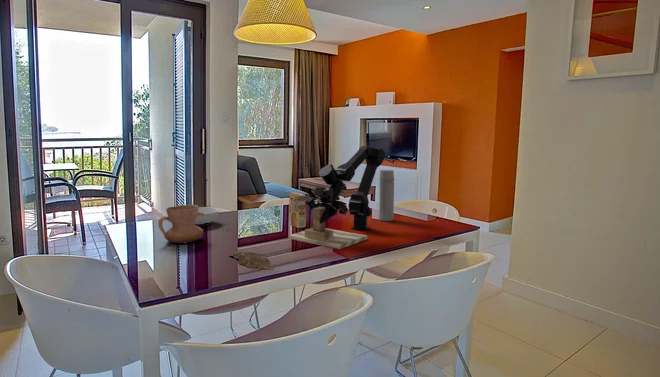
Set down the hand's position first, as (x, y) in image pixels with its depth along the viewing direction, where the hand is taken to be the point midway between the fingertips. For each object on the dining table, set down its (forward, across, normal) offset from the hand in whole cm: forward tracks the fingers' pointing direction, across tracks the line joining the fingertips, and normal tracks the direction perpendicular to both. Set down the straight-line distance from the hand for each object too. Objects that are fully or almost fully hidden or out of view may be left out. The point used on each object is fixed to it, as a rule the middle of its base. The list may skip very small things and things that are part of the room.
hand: (316, 222), depth 171 cm
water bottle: (-31, 0, +43) cm, 53 cm away
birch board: (+1, +1, +10) cm, 10 cm away
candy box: (-6, -25, +17) cm, 31 cm away
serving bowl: (+14, -66, -2) cm, 67 cm away
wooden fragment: (+29, -1, -17) cm, 34 cm away
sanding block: (+4, 0, +6) cm, 7 cm away
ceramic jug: (+29, -43, -18) cm, 55 cm away
